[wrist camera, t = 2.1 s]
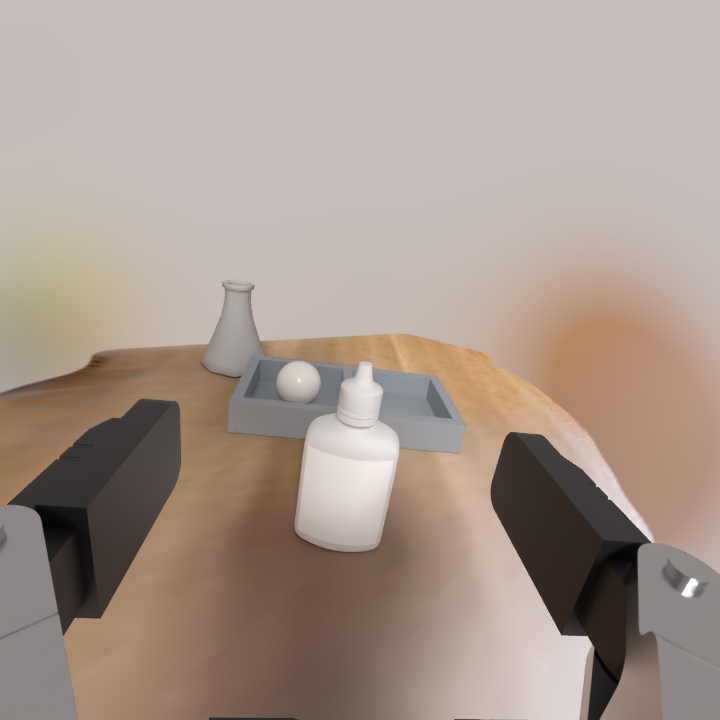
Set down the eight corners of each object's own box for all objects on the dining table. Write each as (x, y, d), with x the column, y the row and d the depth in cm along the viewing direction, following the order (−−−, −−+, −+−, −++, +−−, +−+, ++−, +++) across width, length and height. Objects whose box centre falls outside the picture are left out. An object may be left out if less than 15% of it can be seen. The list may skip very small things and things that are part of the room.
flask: (235, 350, 53) (239, 274, 49) (278, 367, 50) (285, 287, 46) (188, 364, 47) (188, 278, 43) (233, 384, 44) (237, 294, 40)
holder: (227, 432, 35) (228, 401, 34) (250, 379, 45) (252, 354, 44) (458, 453, 37) (466, 425, 36) (431, 399, 48) (436, 376, 47)
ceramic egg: (271, 411, 38) (275, 368, 37) (277, 390, 42) (280, 352, 41) (317, 415, 39) (323, 374, 37) (319, 395, 43) (323, 357, 41)
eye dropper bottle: (353, 578, 23) (390, 393, 19) (282, 528, 26) (301, 356, 22) (390, 535, 27) (428, 371, 23) (324, 495, 30) (347, 341, 25)
